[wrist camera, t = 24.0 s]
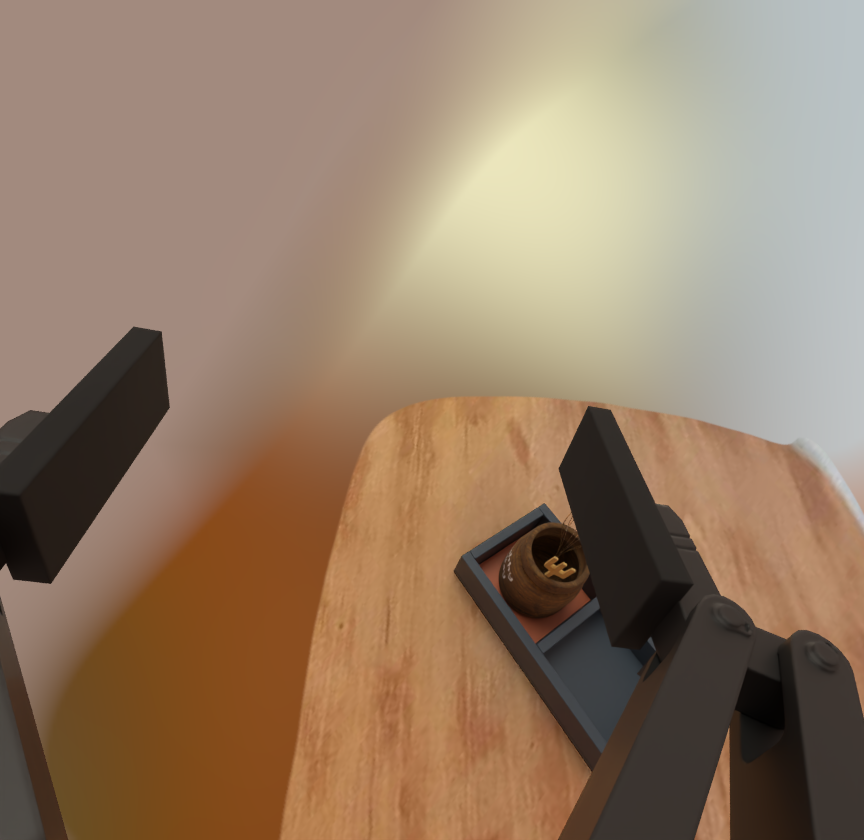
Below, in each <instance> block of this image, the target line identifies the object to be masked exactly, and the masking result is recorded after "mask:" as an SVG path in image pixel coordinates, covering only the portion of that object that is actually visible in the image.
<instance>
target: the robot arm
mask: <svg viewBox="0 0 864 840" xmlns="http://www.w3.org/2000/svg"><path fill="white" fill-rule="evenodd" d="M169 408H170V407H169V397H168V387H167V378H166V369H165V359H164V350H163V341H162V332H161V331H155V330H150V329H143V328H138V327H133V328H132V329H131V330H130V331H129V332H128V333H127V334H126V335H125V336H124V337H123V338H122V339H121V340H120V341H119V342H118V343H117V344H116V345H115V346H114V347H113V348H112V350H110V351H109V353H108V354H107V355H106V356H105V357H104V358H103V359H102V360H101V361H100V362H99V363H98V364H97V365H96V366H95V367H94V368H93V369H92V370H91V371H90V372H89V373H88V374H87V375H86V376H85V377H84V378H83V379H82V380H81V382H79V383H78V384H77V385H76V386H75V387H74V388H73V390H71V392H70V393H69V394H68V395H67V396H66V397H65V398H64V399H63V400H62V401H61V402H60V403H59V404H58V405H57V406H56V407H55V408H54V409H53V410H52V411H51V412H50V413H45V412H39V411H32V410H30V411H28V412H26V413H24V414H22V415H20V416H18V417H16V418H14V419H12V420H10V421H8V422H7V423H6V424H5V425H4V426H3V427H1V428H0V570H1V569H2V567H3V566H4V565H5V564H7V566H8V568H9V571H10V573H11V576H12V578H13V579H14V580H22V581H31V582H40V583H49V584H51V583H52V581H53V580H54V578H55V577H56V576H57V574H58V573H59V571H60V570H61V568H62V567H63V565H64V564H65V562H66V561H67V559H68V558H69V556H70V555H71V553H72V552H73V550H74V549H75V547H76V546H77V544H78V543H79V541H80V540H81V538H82V537H83V535H84V534H85V533H86V531H87V530H88V528H89V527H90V525H91V524H92V522H93V521H94V519H95V518H96V516H97V515H98V513H99V512H100V510H101V509H102V507H103V506H104V504H105V503H106V501H107V500H108V498H109V497H110V495H111V494H112V492H113V491H114V489H115V488H116V487H117V485H118V484H119V482H120V481H121V479H122V477H123V476H124V475H125V473H126V472H127V470H128V469H129V467H130V466H131V464H132V463H133V461H134V460H135V458H136V457H137V455H138V454H139V452H140V451H141V449H142V448H143V446H144V445H145V444H146V442H147V441H148V439H149V438H150V436H151V435H152V433H153V432H154V430H155V429H156V427H157V426H158V424H159V423H160V421H161V420H162V418H163V417H164V415H165V414H166V412H167V410H168V409H169ZM559 472H560V475H561V478H562V482H563V485H564V488H565V492H566V495H567V499H568V502H569V505H570V509H571V512H572V515H573V519H574V522H575V525H576V529H577V532H578V536H579V539H580V542H581V546H582V549H583V552H584V556H585V559H586V563H587V566H588V569H589V573H590V576H591V579H592V583H593V586H594V589H595V593H596V596H597V600H598V603H599V606H600V610H601V613H602V616H603V620H604V623H605V627H606V630H607V633H608V637H609V640H610V643H611V647H618V648H627V649H636V650H640V649H641V648H642V647H643V645H644V644H645V643H646V642H647V641H648V639H649V638H650V637H651V638H652V641H653V644H654V646H655V649H656V652H655V653H654V654H653V656H652V657H651V658H650V659H649V660H648V661H647V663H646V664H645V665H644V666H643V667H642V668H641V670H640V671H639V672H638V673H637V674H638V675H639V676H640V679H639V681H638V683H637V685H636V687H635V689H634V691H633V693H632V695H631V697H630V699H629V701H628V703H627V705H626V707H625V709H624V711H623V713H622V715H621V717H620V719H619V721H618V723H617V725H616V727H615V729H614V730H613V732H612V734H611V736H610V738H609V740H608V742H607V744H606V746H605V748H604V750H603V752H602V754H601V756H600V758H599V760H598V762H597V764H596V766H595V768H594V770H593V772H592V774H591V776H590V778H589V780H588V782H587V784H586V786H585V788H584V789H583V791H582V793H581V795H580V797H579V799H578V801H577V803H576V805H575V807H574V809H573V811H572V813H571V815H570V817H569V819H568V821H567V823H566V825H565V827H564V829H563V831H562V833H561V835H560V837H559V839H558V840H694V838H695V835H696V832H697V828H698V825H699V822H700V819H701V816H702V812H703V809H704V806H705V803H706V800H707V796H708V793H709V790H710V787H711V783H712V780H713V777H714V774H715V771H716V767H717V764H718V761H719V758H720V754H721V751H722V748H723V745H724V742H725V738H726V735H727V732H728V729H729V725H730V840H864V717H863V713H862V708H861V704H860V700H859V695H858V691H857V686H856V682H855V678H854V673H853V670H852V668H851V666H850V663H849V661H848V660H847V659H846V658H845V656H844V655H843V654H842V652H841V651H840V650H839V649H838V648H837V647H835V646H834V645H833V644H832V643H831V642H830V641H828V640H827V639H825V638H823V637H822V636H820V635H819V634H816V633H813V632H810V631H807V630H798V631H796V632H795V633H794V634H792V635H791V636H790V637H789V638H788V639H787V640H786V639H784V638H782V637H779V636H777V635H774V634H772V633H769V632H767V631H764V630H762V629H760V628H757V627H755V625H754V623H753V621H752V619H751V618H750V617H749V615H748V614H747V613H746V612H745V610H744V609H742V608H741V607H740V606H739V605H737V604H736V603H735V602H733V601H731V600H730V599H728V598H726V597H724V596H721V595H720V593H719V591H718V589H717V587H716V585H715V583H714V581H713V580H712V578H711V576H710V574H709V572H708V570H707V568H706V566H705V564H704V562H703V560H702V558H701V556H700V554H699V552H698V551H696V547H695V545H694V543H693V541H692V539H690V535H689V533H688V531H687V529H686V527H685V525H684V523H683V521H682V520H681V519H680V518H679V517H678V516H677V514H676V513H675V512H674V511H673V510H672V509H671V508H670V507H669V506H667V505H660V504H655V502H654V500H653V497H652V495H651V493H650V491H649V489H648V487H647V485H646V483H645V481H644V479H643V477H642V474H641V472H640V470H639V468H638V466H637V464H636V462H635V460H634V458H633V456H632V454H631V451H630V449H629V447H628V445H627V443H626V441H625V439H624V437H623V435H622V433H621V430H620V428H619V426H618V424H617V422H616V420H615V418H614V416H613V414H612V412H611V410H608V409H602V408H597V407H591V406H588V408H587V410H586V412H585V414H584V416H583V419H582V421H581V423H580V425H579V427H578V429H577V431H576V433H575V435H574V438H573V440H572V442H571V444H570V446H569V448H568V450H567V452H566V454H565V456H564V459H563V461H562V463H561V465H560V467H559ZM0 840H68V838H67V834H66V831H65V827H64V823H63V820H62V817H61V813H60V809H59V806H58V802H57V798H56V795H55V791H54V787H53V784H52V781H51V777H50V773H49V770H48V766H47V762H46V759H45V755H44V752H43V748H42V744H41V741H40V738H39V734H38V730H37V727H36V723H35V719H34V716H33V712H32V709H31V705H30V701H29V698H28V694H27V691H26V687H25V684H24V680H23V676H22V673H21V669H20V666H19V662H18V659H17V655H16V651H15V648H14V644H13V641H12V637H11V633H10V630H9V627H8V623H7V619H6V615H5V612H4V608H3V605H2V601H1V598H0Z"/></svg>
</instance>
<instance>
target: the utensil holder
mask: <svg viewBox="0 0 864 840" xmlns="http://www.w3.org/2000/svg"><path fill="white" fill-rule="evenodd" d="M571 513H572V512H571ZM571 513H570V514H571ZM570 514H569V515H570ZM569 515H568V516H569ZM568 516H567V518H568ZM572 517H573V516H572ZM567 518H566V519H567ZM566 519H565V520H566ZM571 519H572V518H571ZM570 521H571V520H570ZM573 521H574V520H573ZM573 521H572V522H573ZM564 522H565V521H564ZM572 522H571V523H572ZM569 523H570V522H569ZM571 523H570V524H571ZM570 524H568V526H567V525H564V523H563V524H561V523H555V522H550V523H544V524H541V525H539V526H537V527H536V528H534V529H533V530H531V531H530V532H529V533H527V534H526V535H524V536H523V537H521V538H520V539H519V540H518V541H517V542H516V543H515V545H514V546H513V547H512V549H511V550H510V551H509V553H508V554H507V556H506V557H505V559H504V560H503V562H502V565H501V567H500V571H499V587H500V590H501V593H502V595H503V597H504V599H505V601H506V602H507V603H508V604H509V606H510V607H511V608H512V609H514V610H515V611H516V612H518V613H519V614H521V615H523V616H526V617H529V618H536V619H539V618H546V617H549V616H551V615H554V614H555V613H557V612H558V611H560V610H561V609H562V608H564V607H565V606H566V605H567V604H569V603H570V602H571V601H572V600H573V599H574V598H575V597H576V596H577V595H578V594H579V592H580V591H581V589H582V587H583V584H584V583H585V582H586V580H587V579H588V577H589V575H590V573H589V569H588V566H587V563H586V559H585V556H584V552H583V549H582V546H581V542H580V539H579V536H578V532H577V531H576V530H577V529H576V530H574V529H573V528H571V527H569V525H570Z"/></svg>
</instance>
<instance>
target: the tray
mask: <svg viewBox="0 0 864 840" xmlns="http://www.w3.org/2000/svg"><path fill="white" fill-rule="evenodd" d="M550 522H555V523H561V522H560V521H559V520H558V519H557V518H556V516H555V515H554V514H553V513H552V511H551V510H550V509H549V508H548V507H547V505H546V504H545V503H544V504H542V505H541V506H539V507H538V508H536V509H535V510H533V511H531V512H530V513H528V514H527V515H525V516H524V517H522V518H520V519H519V520H517V521H516V522H514V523H513V524H511V525H510V526H508V527H506V528H505V529H503V530H502V531H500V532H499V533H497V534H495V535H494V536H492V537H491V538H489V539H488V540H486V541H484V542H483V543H481V544H480V545H478V546H477V547H475V548H474V549H472V550H470V552H467V553H466V554H464V555H462V556H461V558H460V560H459V562H458V564H457V566H456V568H455V570H454V572H455V574H456V575H457V577H458V578H459V579H460V581H461V582H462V584H463V585H464V587H465V588H466V590H467V591H468V592H469V594H470V595H471V597H472V598H473V600H474V601H475V603H476V604H477V605H478V607H479V608H480V610H481V611H482V613H483V614H484V616H485V617H486V618H487V620H488V621H489V623H490V624H491V626H492V627H493V629H494V630H495V631H496V633H497V634H498V636H499V637H500V639H501V640H502V642H503V643H504V645H505V646H506V647H507V649H508V650H509V652H510V653H511V655H512V656H513V658H514V659H515V660H516V662H517V663H518V665H519V666H520V668H521V669H522V671H523V672H524V673H525V675H526V676H527V678H528V679H529V681H530V682H531V684H532V685H533V686H534V688H535V689H536V691H537V692H538V694H539V695H540V697H541V698H542V699H543V701H544V702H545V704H546V705H547V707H548V708H549V710H550V711H551V713H552V714H553V715H554V717H555V718H556V720H557V721H558V723H559V724H560V726H561V727H562V728H563V730H564V731H565V733H566V734H567V736H568V737H569V739H570V740H571V741H572V743H573V744H574V746H575V747H576V749H577V750H578V752H579V753H580V754H581V756H582V757H583V759H584V760H585V762H586V763H587V765H588V766H589V768H590V769H591V770H592V772H593V770H594V768H595V766H596V764H597V762H598V760H599V758H600V756H601V754H602V752H603V750H604V748H605V746H606V744H607V742H608V740H609V738H610V736H611V734H612V732H613V730H614V729H615V727H616V725H617V723H618V721H619V719H620V717H621V715H622V713H623V711H624V709H625V707H626V705H627V703H628V701H629V699H630V697H631V695H632V693H633V691H634V689H635V687H636V685H637V683H638V681H639V679H640V676H639V675H638V674H637V673H638V672H639V671H640V670H641V668H642V667H643V666H644V665H645V664H646V663H647V661H648V660H649V659H650V658H651V657H652V656H653V654H654V653H655V652H656V649H655V646H654V644H653V641H652V638H651V637H650V638H649V639H648V641H647V642H646V643H645V644H644V645H643V647H642V648H641V649H640V650H636V649H627V648H618V647H611V643H610V640H609V637H608V633H607V630H606V627H605V623H604V620H603V616H602V613H601V610H600V606H599V603H598V600H597V596H596V593H595V589H594V586H593V583H592V579H591V576H590V575H589V577H588V579H587V580H586V582H585V583H584V584H583V587H582V589H581V591H580V592H579V594H578V595H577V596H576V597H575V598H574V599H573V600H572V601H571V602H570V603H569V604H567V605H566V606H565V607H564V608H562V609H561V610H560V611H558V612H557V613H555V614H554V615H551V616H549V617H546V618H539V619H536V618H529V617H526V616H523V615H521V614H519V613H518V612H516V611H515V610H514V609H512V608H511V607H510V606H509V604H508V603H507V602H506V601H505V599H504V597H503V595H502V593H501V590H500V587H499V571H500V567H501V565H502V562H503V560H504V559H505V557H506V556H507V554H508V553H509V551H510V550H511V549H512V547H513V546H514V545H515V543H516V542H517V541H518V540H519V539H520V538H521V537H523V536H524V535H526V534H527V533H529V532H530V531H531V530H533V529H534V528H536V527H537V526H539V525H541V524H544V523H550Z"/></svg>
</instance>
